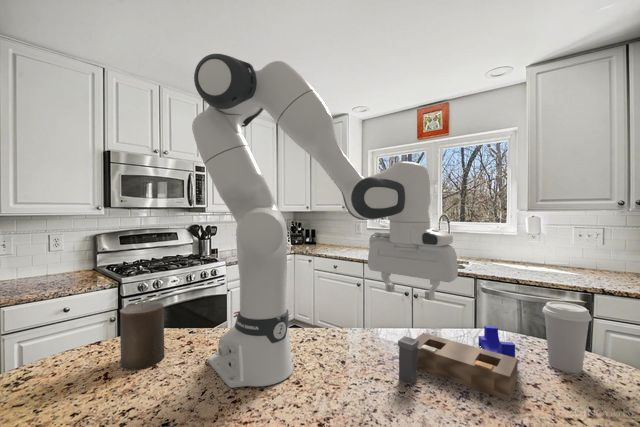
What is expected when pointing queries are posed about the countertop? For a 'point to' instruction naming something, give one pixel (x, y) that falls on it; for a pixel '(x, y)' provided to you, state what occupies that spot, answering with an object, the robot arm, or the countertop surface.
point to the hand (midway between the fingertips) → (409, 295)
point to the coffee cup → (566, 335)
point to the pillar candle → (142, 335)
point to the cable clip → (495, 342)
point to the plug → (408, 359)
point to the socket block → (468, 365)
